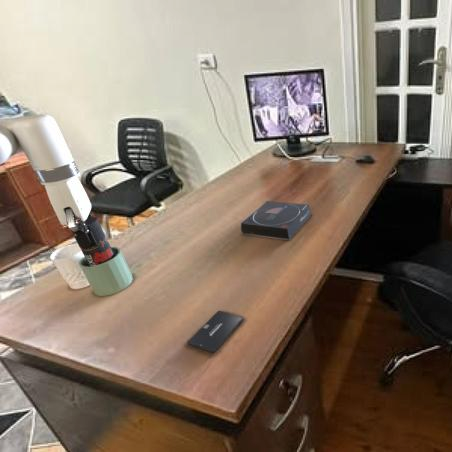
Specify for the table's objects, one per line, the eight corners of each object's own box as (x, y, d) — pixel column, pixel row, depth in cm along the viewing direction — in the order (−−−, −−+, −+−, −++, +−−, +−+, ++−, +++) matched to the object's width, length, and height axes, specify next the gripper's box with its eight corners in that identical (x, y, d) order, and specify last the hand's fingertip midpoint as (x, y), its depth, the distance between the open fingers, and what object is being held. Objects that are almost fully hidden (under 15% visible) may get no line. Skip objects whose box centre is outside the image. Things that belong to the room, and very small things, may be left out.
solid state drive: (187, 344, 72) (186, 342, 72) (219, 312, 80) (218, 310, 80) (213, 354, 70) (212, 351, 69) (243, 319, 77) (243, 317, 77)
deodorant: (91, 281, 89) (64, 230, 82) (101, 267, 94) (76, 218, 87) (115, 277, 90) (90, 226, 82) (124, 264, 95) (101, 215, 87)
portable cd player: (267, 210, 125) (265, 200, 123) (311, 215, 119) (309, 204, 117) (241, 234, 112) (239, 223, 110) (289, 240, 106) (287, 228, 104)
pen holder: (91, 300, 88) (75, 271, 84) (96, 280, 96) (82, 253, 92) (131, 288, 91) (118, 260, 87) (134, 269, 99) (122, 243, 95)
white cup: (76, 294, 91) (58, 263, 86) (62, 285, 95) (44, 255, 90) (106, 277, 97) (91, 247, 92) (91, 270, 101) (76, 240, 96)
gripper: (48, 165, 84) (81, 230, 93) (26, 189, 70) (67, 262, 79) (84, 159, 86) (112, 222, 95) (69, 180, 72) (104, 253, 81)
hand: (92, 240), depth 87 cm, fingers closed on deodorant, 6 cm apart
